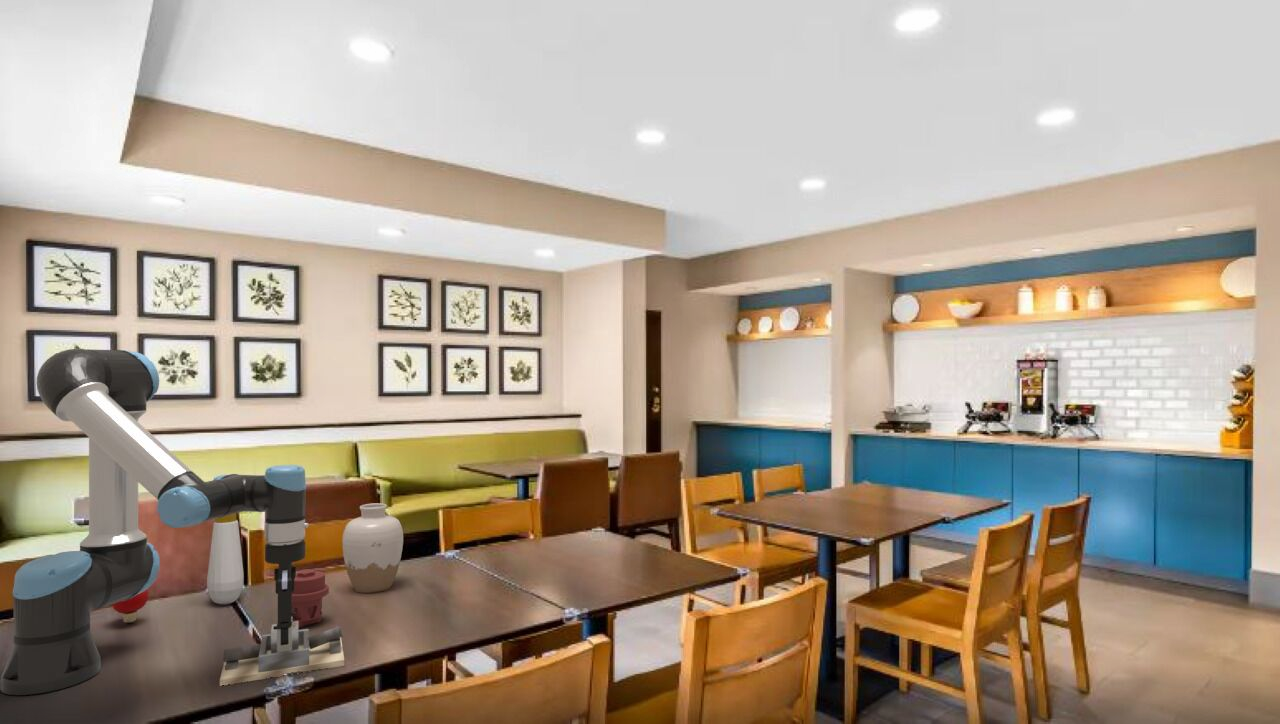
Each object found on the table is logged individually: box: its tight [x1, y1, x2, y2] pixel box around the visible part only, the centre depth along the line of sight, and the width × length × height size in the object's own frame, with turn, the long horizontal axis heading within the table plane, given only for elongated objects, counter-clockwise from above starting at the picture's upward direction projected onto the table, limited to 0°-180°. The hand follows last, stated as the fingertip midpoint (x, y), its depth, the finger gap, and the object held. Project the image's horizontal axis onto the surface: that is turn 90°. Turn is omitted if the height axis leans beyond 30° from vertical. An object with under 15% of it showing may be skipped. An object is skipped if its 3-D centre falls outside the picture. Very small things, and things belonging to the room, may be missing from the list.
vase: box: [342, 502, 404, 594], centre depth 199 cm, size 16×16×23 cm
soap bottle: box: [206, 513, 245, 606], centre depth 187 cm, size 13×10×29 cm
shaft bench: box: [219, 625, 345, 687], centre depth 147 cm, size 22×14×6 cm, turn 115°
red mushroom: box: [112, 589, 149, 625], centre depth 171 cm, size 9×7×10 cm
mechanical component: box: [291, 568, 330, 629], centre depth 171 cm, size 12×10×10 cm
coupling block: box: [270, 621, 300, 654], centre depth 148 cm, size 5×5×7 cm
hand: (284, 654), depth 147 cm, fingers closed on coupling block, 5 cm apart
